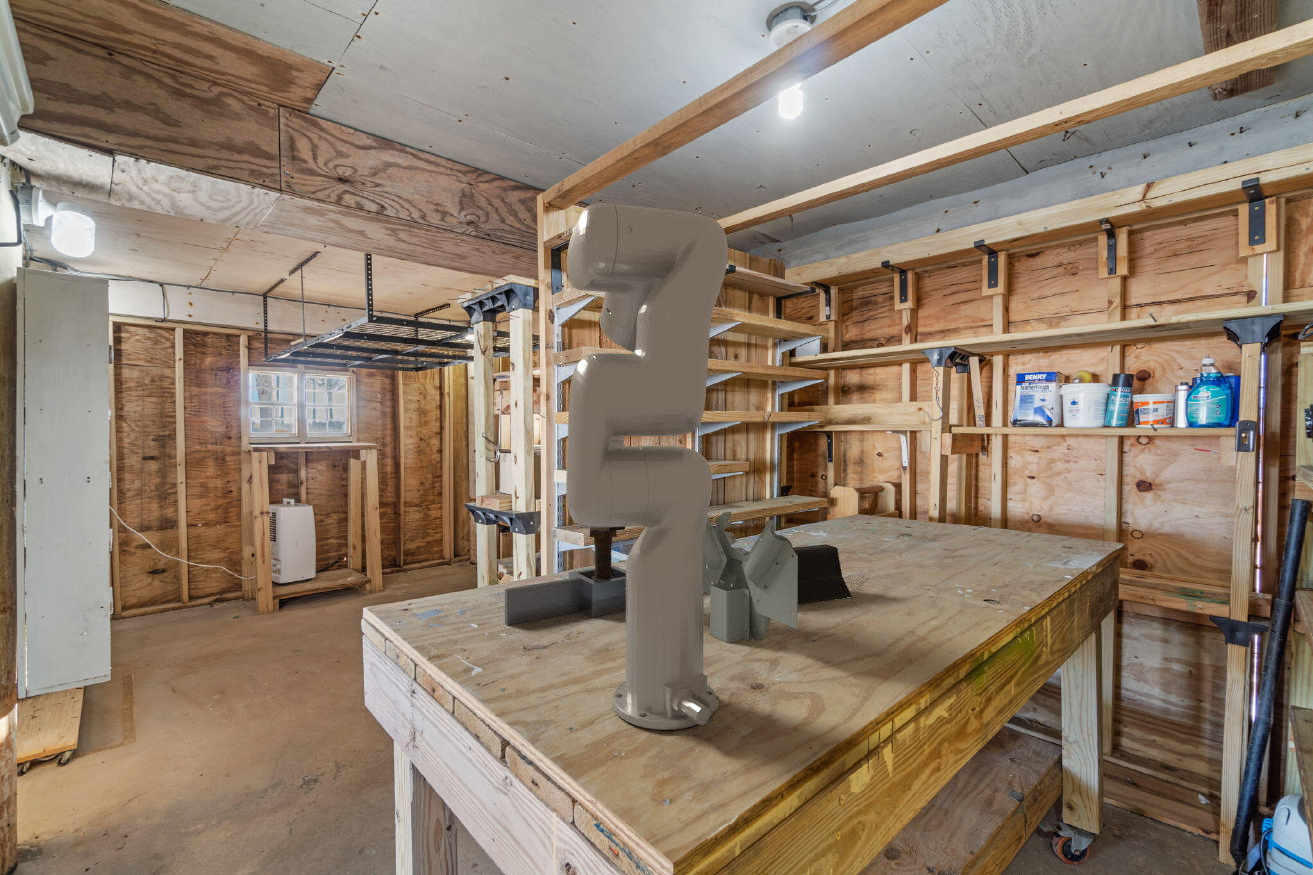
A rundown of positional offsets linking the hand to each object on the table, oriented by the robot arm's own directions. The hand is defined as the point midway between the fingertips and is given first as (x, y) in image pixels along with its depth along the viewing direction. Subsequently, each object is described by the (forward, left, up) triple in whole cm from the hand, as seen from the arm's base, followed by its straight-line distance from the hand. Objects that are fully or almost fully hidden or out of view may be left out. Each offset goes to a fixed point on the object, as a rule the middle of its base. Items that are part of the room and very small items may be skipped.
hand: (604, 526), depth 106 cm
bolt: (+1, 0, -15) cm, 15 cm away
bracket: (-25, -11, -15) cm, 31 cm away
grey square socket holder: (0, 0, -15) cm, 15 cm away
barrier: (-16, -34, -16) cm, 40 cm away
